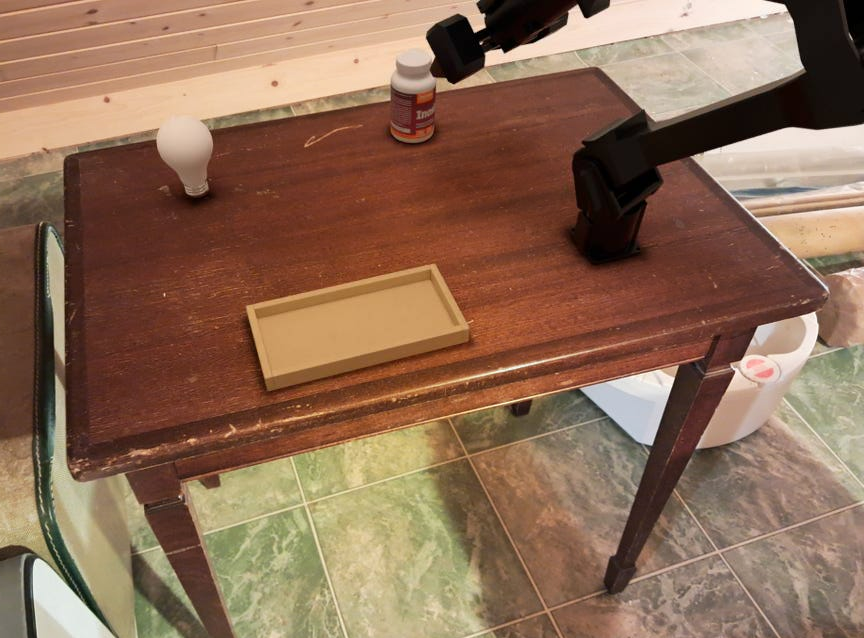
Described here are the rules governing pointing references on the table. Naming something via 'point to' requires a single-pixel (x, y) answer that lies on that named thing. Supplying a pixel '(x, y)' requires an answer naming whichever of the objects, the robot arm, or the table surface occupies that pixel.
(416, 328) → the tray
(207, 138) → the light bulb
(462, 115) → the table surface
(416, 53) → the pill bottle
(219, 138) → the table surface
